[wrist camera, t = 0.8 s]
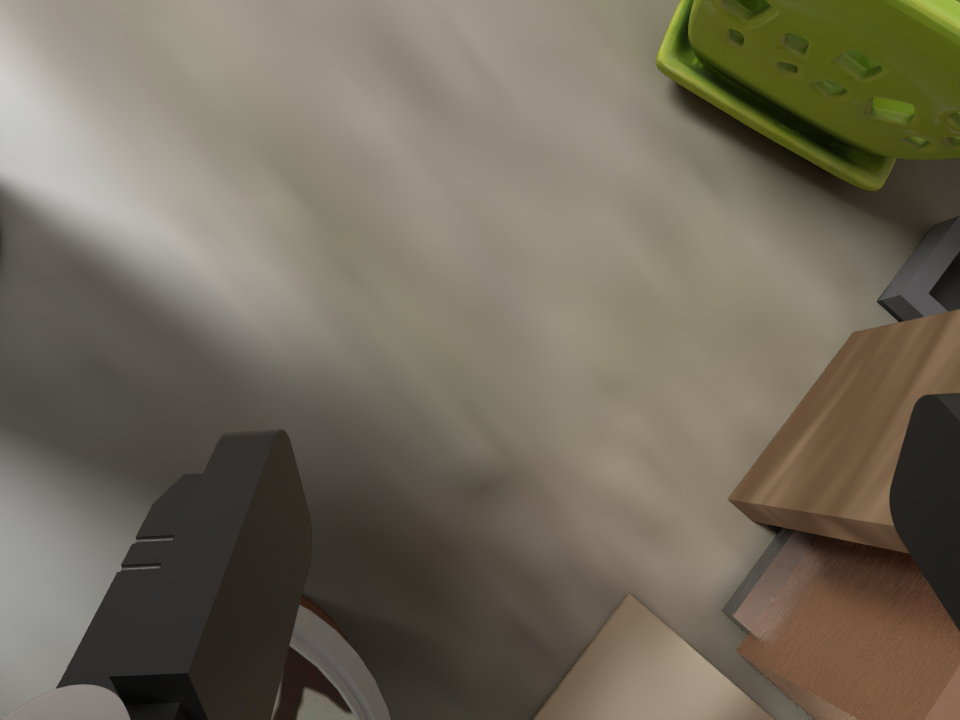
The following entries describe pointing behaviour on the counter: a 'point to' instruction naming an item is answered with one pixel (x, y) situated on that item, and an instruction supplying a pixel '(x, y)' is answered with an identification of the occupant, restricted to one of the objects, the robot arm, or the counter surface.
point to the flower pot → (828, 76)
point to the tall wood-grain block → (849, 630)
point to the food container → (325, 674)
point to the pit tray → (928, 276)
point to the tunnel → (853, 434)
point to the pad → (645, 677)
